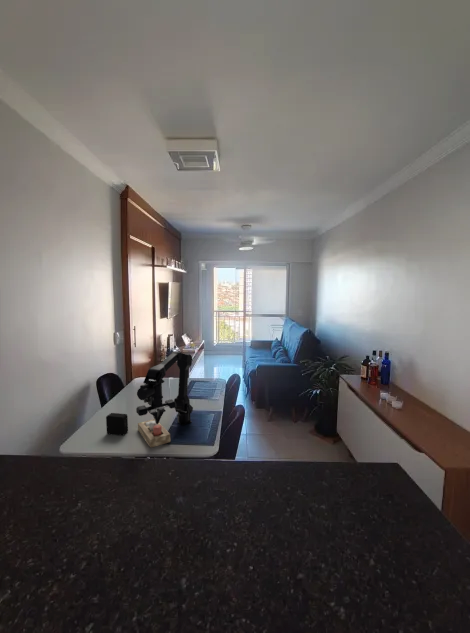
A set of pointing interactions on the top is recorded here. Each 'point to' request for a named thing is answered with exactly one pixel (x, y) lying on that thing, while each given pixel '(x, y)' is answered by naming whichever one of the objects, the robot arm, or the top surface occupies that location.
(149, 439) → the beech block
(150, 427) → the plug
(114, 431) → the electronic device
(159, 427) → the red plug
